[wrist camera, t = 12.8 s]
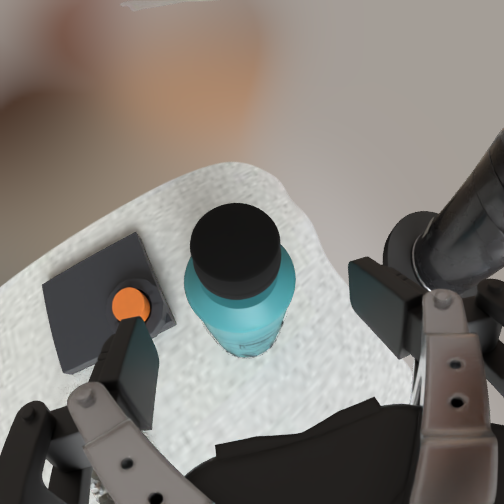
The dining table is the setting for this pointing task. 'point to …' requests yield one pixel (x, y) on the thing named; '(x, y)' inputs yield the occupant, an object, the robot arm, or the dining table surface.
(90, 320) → the scale
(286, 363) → the dining table surface
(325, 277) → the dining table surface
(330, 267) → the dining table surface
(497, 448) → the robot arm
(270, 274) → the beverage bottle
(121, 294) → the button
